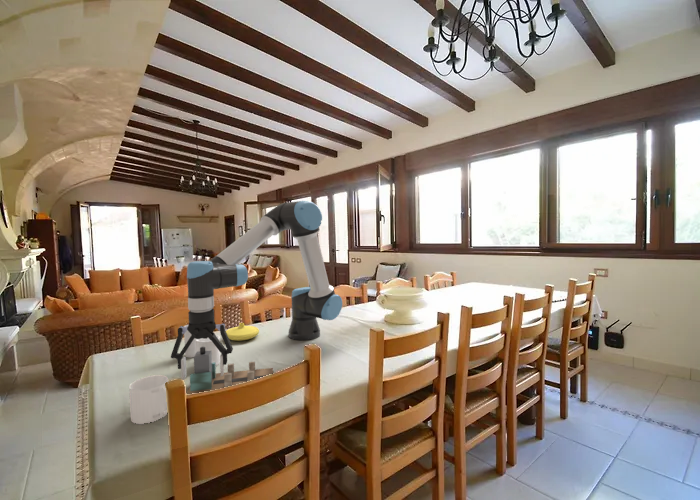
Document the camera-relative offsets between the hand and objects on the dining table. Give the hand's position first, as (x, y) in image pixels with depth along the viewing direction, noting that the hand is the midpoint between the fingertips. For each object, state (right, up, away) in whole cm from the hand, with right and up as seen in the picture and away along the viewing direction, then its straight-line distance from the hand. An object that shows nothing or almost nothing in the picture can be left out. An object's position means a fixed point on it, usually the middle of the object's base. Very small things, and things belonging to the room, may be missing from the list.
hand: (203, 376), depth 106 cm
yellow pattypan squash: (-3, -1, +48) cm, 48 cm away
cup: (-8, -2, +19) cm, 21 cm away
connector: (0, -2, 0) cm, 2 cm away
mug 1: (-6, -5, -17) cm, 18 cm away
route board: (+9, -3, +2) cm, 10 cm away
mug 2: (-15, -2, +28) cm, 32 cm away
